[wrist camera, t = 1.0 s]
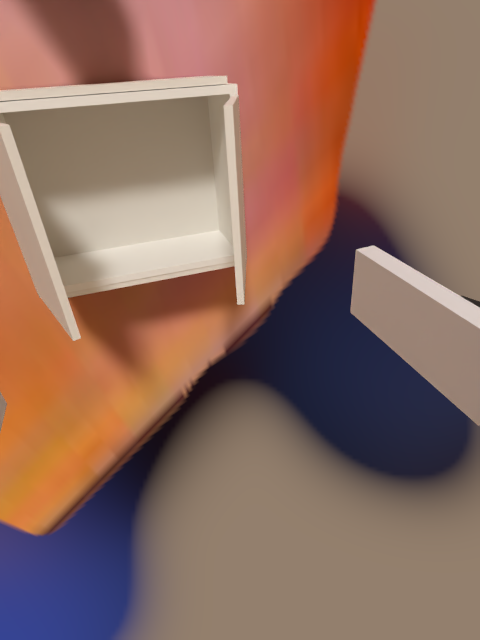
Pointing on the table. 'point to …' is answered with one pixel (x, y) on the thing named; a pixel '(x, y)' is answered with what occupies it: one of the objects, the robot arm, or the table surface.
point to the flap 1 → (32, 232)
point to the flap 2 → (236, 192)
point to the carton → (127, 177)
